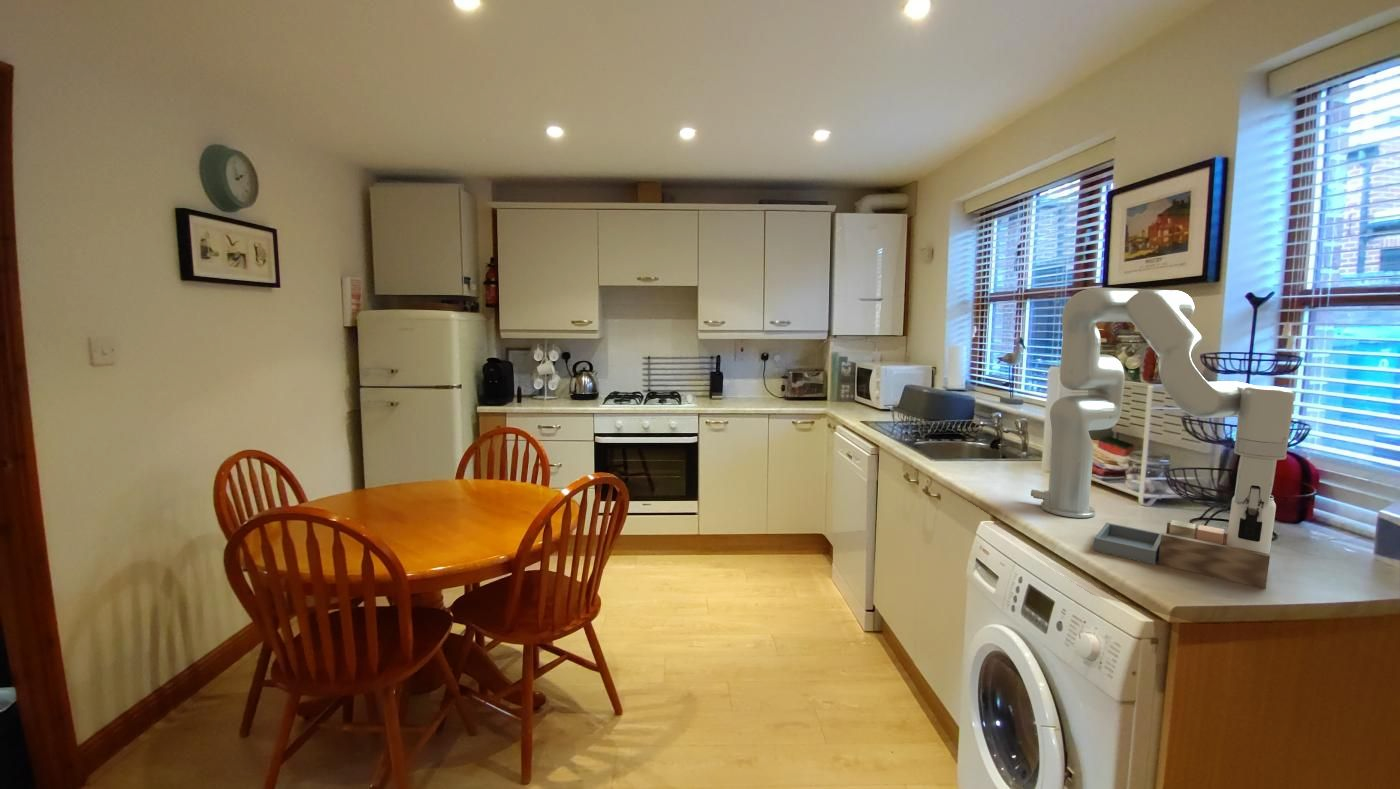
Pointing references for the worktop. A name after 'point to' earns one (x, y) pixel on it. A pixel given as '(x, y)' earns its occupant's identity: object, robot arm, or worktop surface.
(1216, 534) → the terracotta block
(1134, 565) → the worktop surface
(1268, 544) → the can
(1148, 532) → the tray
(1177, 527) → the maple block
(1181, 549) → the slot block
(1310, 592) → the worktop surface
